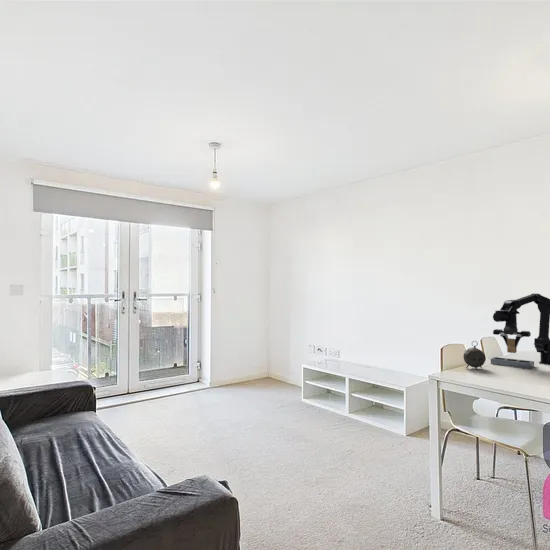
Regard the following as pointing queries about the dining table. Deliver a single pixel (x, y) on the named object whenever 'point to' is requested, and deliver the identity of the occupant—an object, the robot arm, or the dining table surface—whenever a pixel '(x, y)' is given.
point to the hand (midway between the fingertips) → (511, 347)
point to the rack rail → (513, 362)
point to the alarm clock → (474, 357)
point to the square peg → (511, 345)
